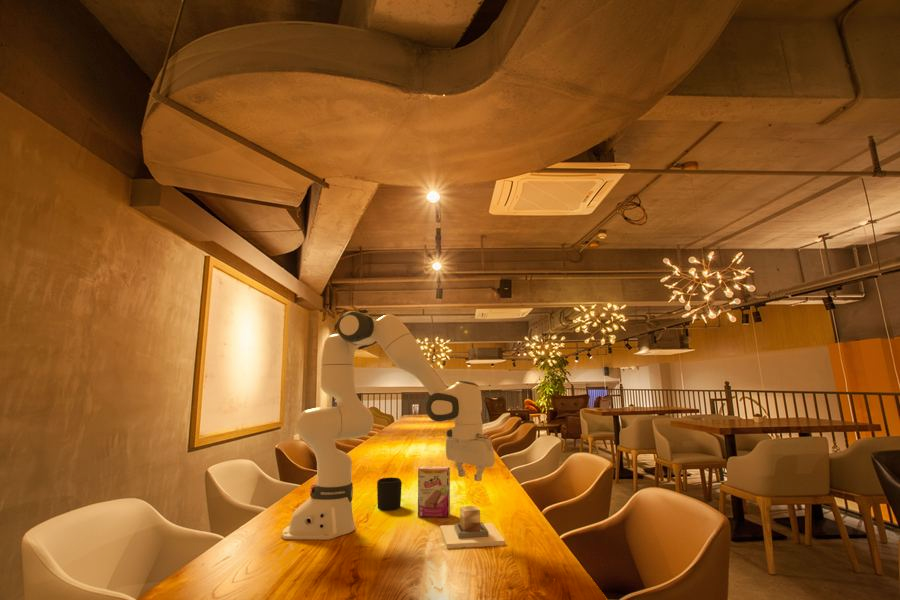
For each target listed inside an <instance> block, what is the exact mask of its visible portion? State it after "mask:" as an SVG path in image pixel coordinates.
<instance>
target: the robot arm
mask: <svg viewBox="0 0 900 600" xmlns="http://www.w3.org/2000/svg"><path fill="white" fill-rule="evenodd" d="M336 330H337V333H333V334H331V335H329V336H328V337H326V338H325V340H324V344H323V347H322V354H321V363H320V366H321V368H320V388H321V390H322V392H323V393H325V394H326V395H329V396H330V397H333V398H334V399H335V401H336V406H320V407H318V406H317V407H313V408H309V409H305V410H303V411H302V412H301V413H300V414H299V416H298V418H297V420H296V421H297V422H296V426H295V427H296V431H297V434H298V436H299V437H300V439H301V440H303V441H304V442H305V443H306V444H307V445H309V446H310V448H311V449H312V451H313V453H314V455H315V459H316V473H317V474H316V483H312V484H311V486H310V489H309V496H310V497H309V498H308V499H306V500H305V501H304V502H303V503H302V504H300V505H299V506H298V507H297V508H296V509H295V510H294V512H293V513H292V516H291V519H290V523H289V524H288V525H287V526H286V527H284V528H283V530H282V531H281V532H282V533H281V538H282V539H284V540H327V541H328V540H333V539H334V538H336V537H340V536H344V535H347V534H349V533H350V534H351V532H353V531H355V530H356V525H355V521H354V516H353V515H354V514H353V506H352V505H353V503H352V501H353V499H354V498H353V497H354V493H353V492H354V487H353V484H354V483H353V482H352V478H353V477H352V475H353V473H352V471H353V469H352V468H353V467H352V466H353V460H352V458H351V456H350V455H349V454H348V453H346V452H345V451H343V450H340V449H339V448H337V446H336V442H337V441H341V440H343V441H344V440H353V439H359V438H362V437H366V436H368V435H369V434H370V432H371V431H372V430H373V427H374V422H375V421H374V416H373V413H372V411H371V410H370V409H369V408H368V407H367V406H366V405H365V404H363V402H362V401H361V400H360V398H359V397H358V394H357V392H356V387H355V359H354V358H355V353H356V350H363V349H366V348H368V347H371V346H373V345H375V344H377V343H378V345H379V346H380V347H381V348H382V350H383V352H384V353H385V354H386V356H387V357H388V359H389V360H390V361H391V362H392V363H393V364H394V365H395V367H397V368H398V369H401V370H403V371H405V372H406V373H409V374H411V375H412V376H414V377H415V378H416V379H418V380H419V382H420V383H421V384H422V386H423V387H424V389H425V390H426V391H427V392H428V394H429V397H428V398H427V399H426V402H425V406H424V407H425V413H426V415H427V416H428V418H429V419H431V420H432V421H433V422H437V423H444V422H449V421H450V422H451V421H454V426H453V427H451V428H449V429H446V430H445V433H444V435H445V437H446V440H445V456H446V458H447V460H449V461H452V462H453V461H454V462H455V467H456V470H457V477H461V478H463V477H465V476H466V470H465V469H464V467H463V464H466V465H471V466H475V468H476V469H475V470H477V471H476V473H475V474H474V477H473V478H474V481H476V482H481V481H482V480H483V478H482V477H483V473H484V470H485V468H490V467H491V468H492V467H493V466H494V465H495V452H494V447H493V442H492V441H493V440H492V439H491V438H490V437H489V435H487V434H483V433H484V432H483V429H484V428H483V420H482V411H483V403H482V402H483V398H482V390H481V388H480V386H479V385H478V384H477V383H475V382H472V381H465V380H458V381H456V382H455V383H454V384H453V385H451V386H449V387H448V385H446V384H445V382H444V381H443V380H442V379H441V377H440V376H439V374H438V373H437V372H436V370H434V368H433V366H432V365H431V364H430V362H429V361H428V359H427V357H426V355H425V354H424V352H423V350H422V349H421V346H420V345H419V343H418V342H417V340H416V338H415V336H414V335H413V334H412V333H411V331H410V330H409V329H408V328H407V326H406V325H405V324H404V323H403V322H402V321H401V319H399V318H398V317H397V316H396V315H394V314H391V313H389V314H388V313H387V314H385V315H382V316H380V317H379V318H378V319H377V318H373V317H372V316H370V315H369V314H366V313H363V312H360V311H357V310H356V311H355V310H353V311H351V310H350V311H347V312H345V313H343V314H342V315H340V317H339V318H338V320H337V323H336Z"/></svg>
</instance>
